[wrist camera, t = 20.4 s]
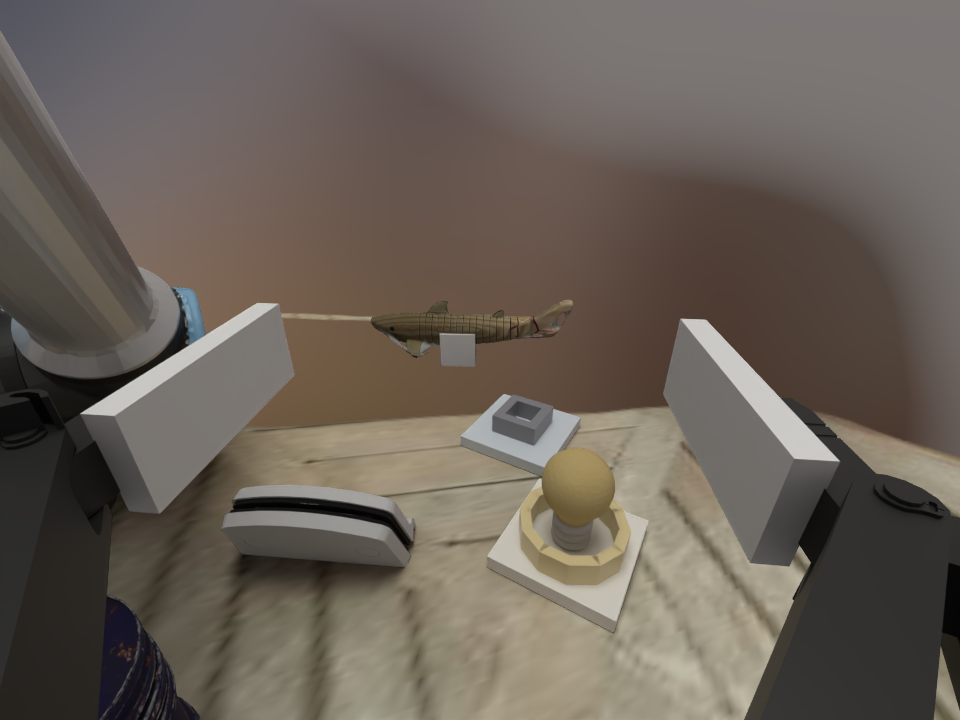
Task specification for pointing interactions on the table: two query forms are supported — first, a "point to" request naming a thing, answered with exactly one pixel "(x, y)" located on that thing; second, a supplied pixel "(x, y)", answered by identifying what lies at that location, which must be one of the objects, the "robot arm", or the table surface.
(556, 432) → the square socket
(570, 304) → the wood carving
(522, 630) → the table surface
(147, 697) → the storage jar
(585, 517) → the light bulb
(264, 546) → the white curved block
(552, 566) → the round socket
